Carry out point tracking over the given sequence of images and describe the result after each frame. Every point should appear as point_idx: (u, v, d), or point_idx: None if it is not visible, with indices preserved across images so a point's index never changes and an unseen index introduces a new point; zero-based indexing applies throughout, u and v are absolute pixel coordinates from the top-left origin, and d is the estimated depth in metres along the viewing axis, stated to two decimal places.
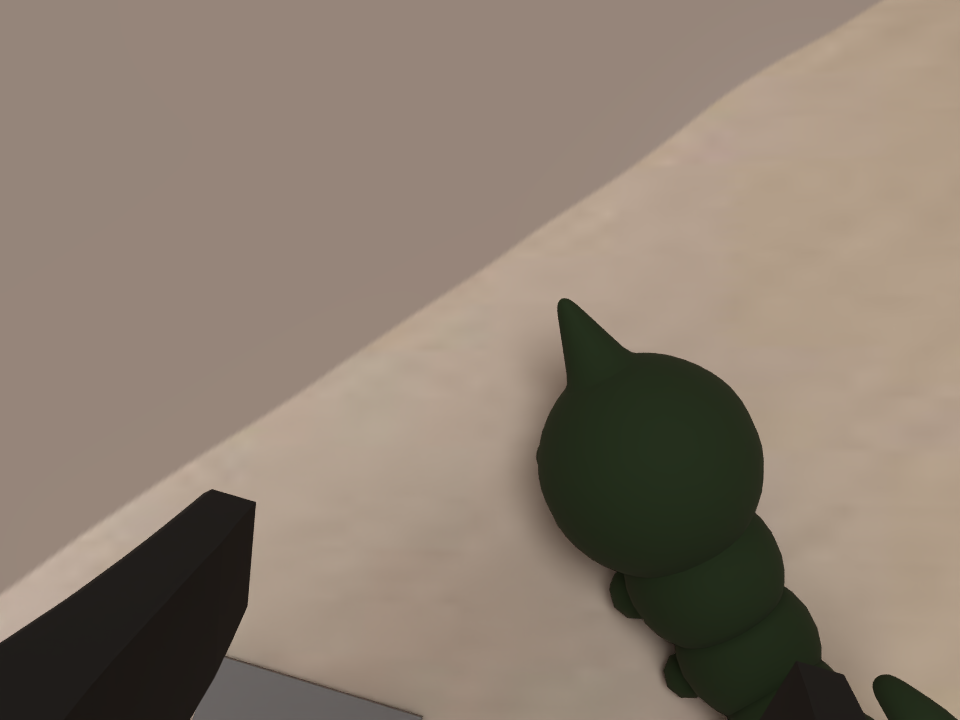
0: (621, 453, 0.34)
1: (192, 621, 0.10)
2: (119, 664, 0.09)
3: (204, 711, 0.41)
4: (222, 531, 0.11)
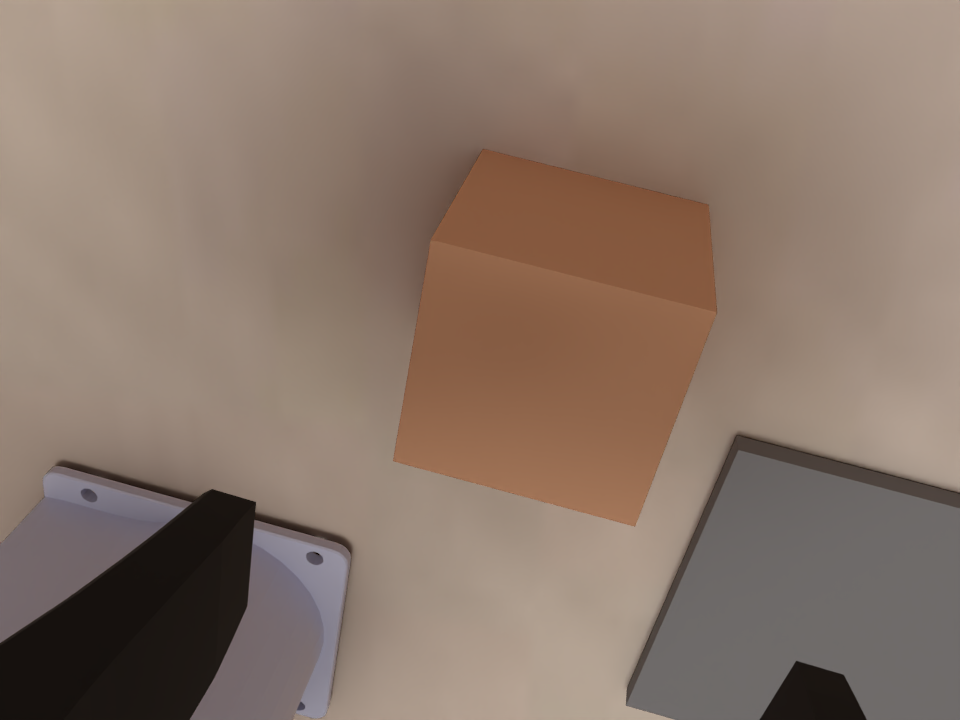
0: None
1: (192, 621, 0.10)
2: (119, 664, 0.09)
3: None
4: (222, 531, 0.11)
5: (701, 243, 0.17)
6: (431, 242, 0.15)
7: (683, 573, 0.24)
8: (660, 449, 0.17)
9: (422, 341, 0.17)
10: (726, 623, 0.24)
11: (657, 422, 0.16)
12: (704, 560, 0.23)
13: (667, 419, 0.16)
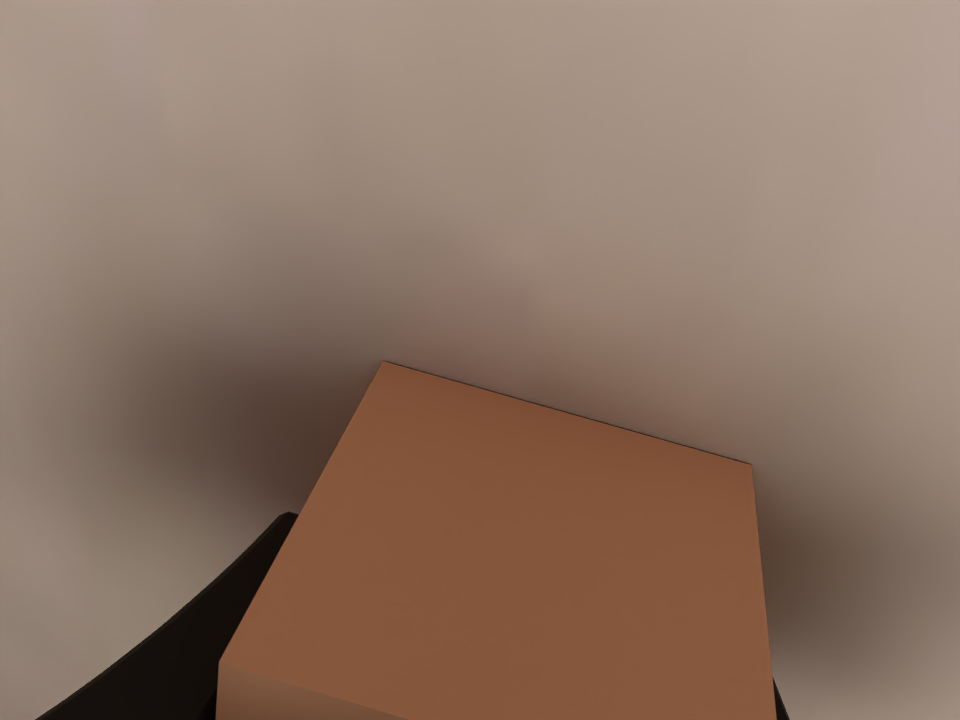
0: None
1: None
2: None
3: None
4: None
5: (745, 586, 0.10)
6: (221, 665, 0.08)
7: None
8: None
9: None
10: None
11: None
12: None
13: None
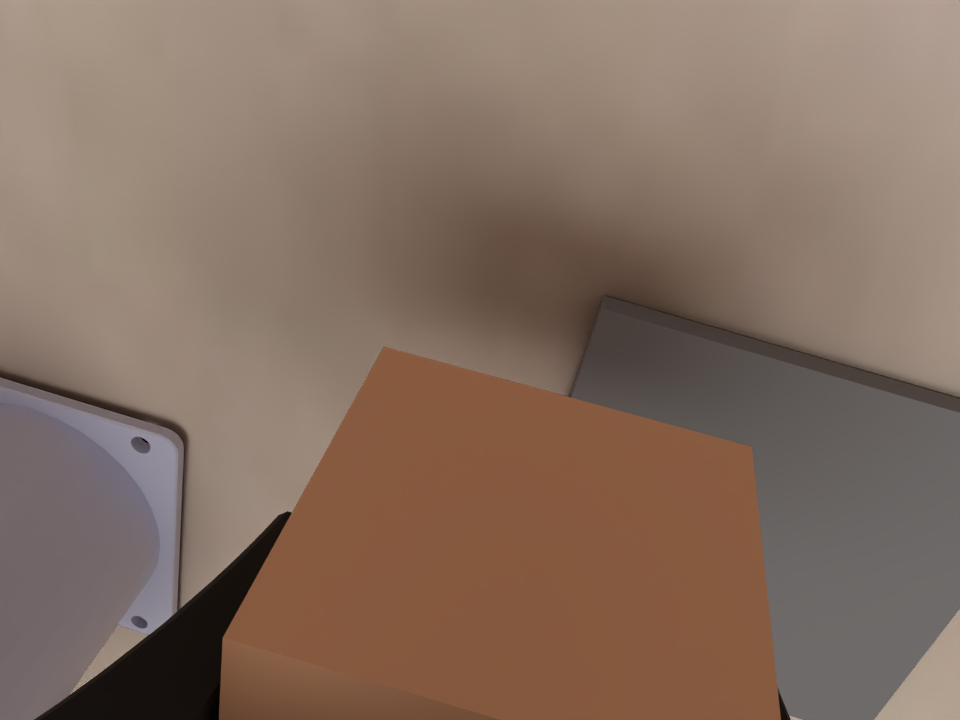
0: None
1: None
2: (217, 694, 0.09)
3: (953, 428, 0.18)
4: None
5: (746, 564, 0.10)
6: (225, 641, 0.08)
7: None
8: None
9: None
10: None
11: None
12: None
13: None
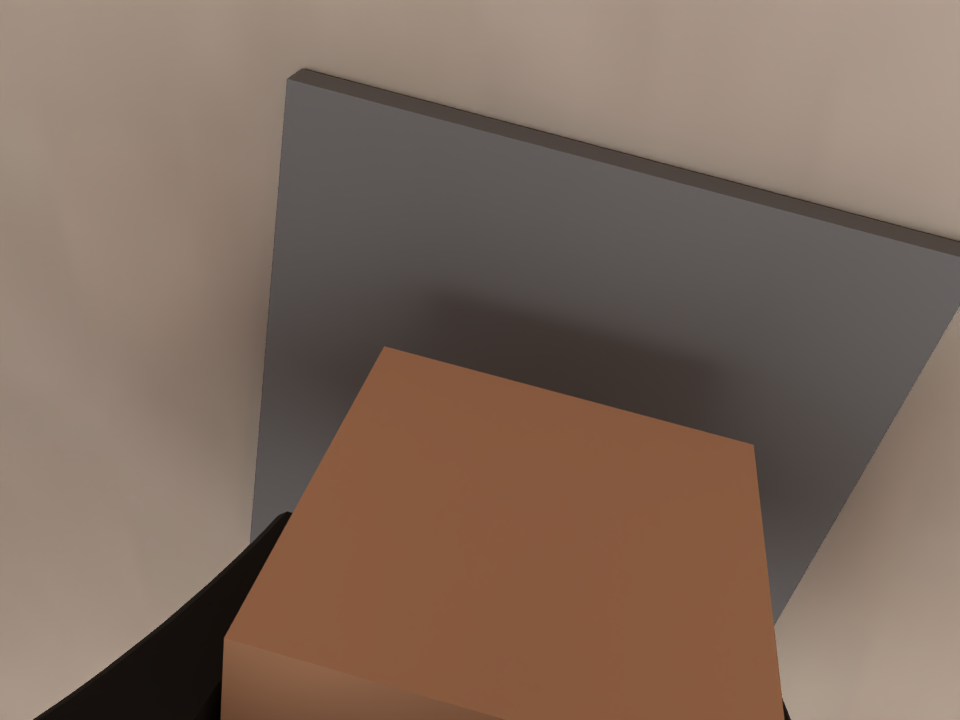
0: None
1: None
2: (217, 694, 0.09)
3: (796, 242, 0.13)
4: None
5: (748, 562, 0.10)
6: (226, 642, 0.08)
7: (268, 330, 0.15)
8: None
9: None
10: None
11: None
12: (289, 302, 0.15)
13: None
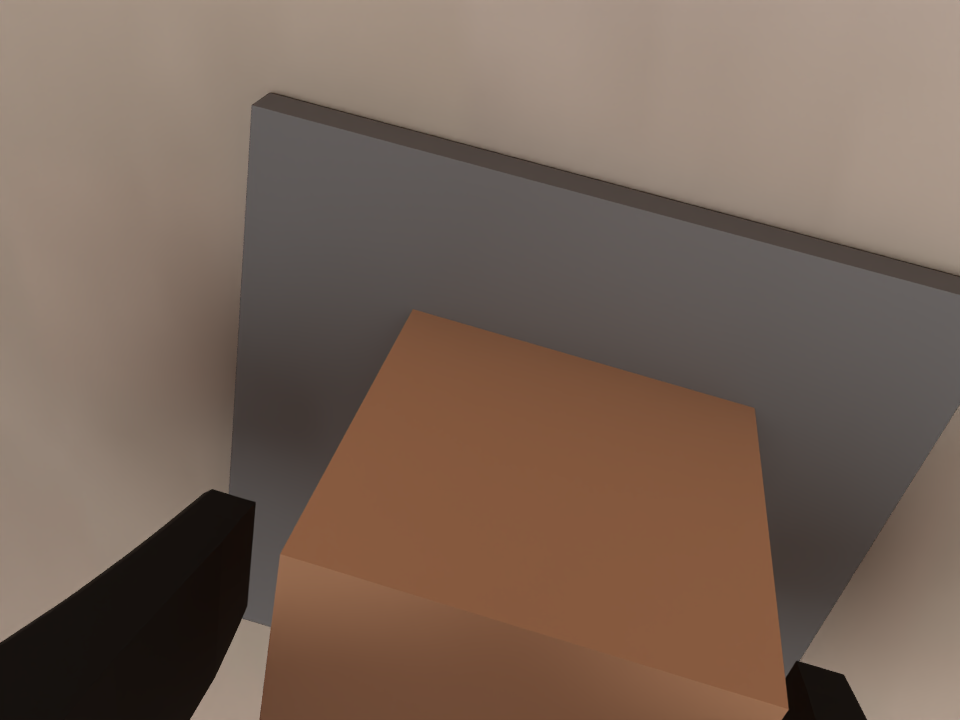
0: None
1: (192, 621, 0.10)
2: (119, 664, 0.09)
3: (811, 285, 0.11)
4: (222, 531, 0.11)
5: (749, 508, 0.11)
6: (282, 557, 0.09)
7: (237, 371, 0.14)
8: None
9: (278, 687, 0.10)
10: (325, 463, 0.15)
11: None
12: (260, 343, 0.14)
13: None
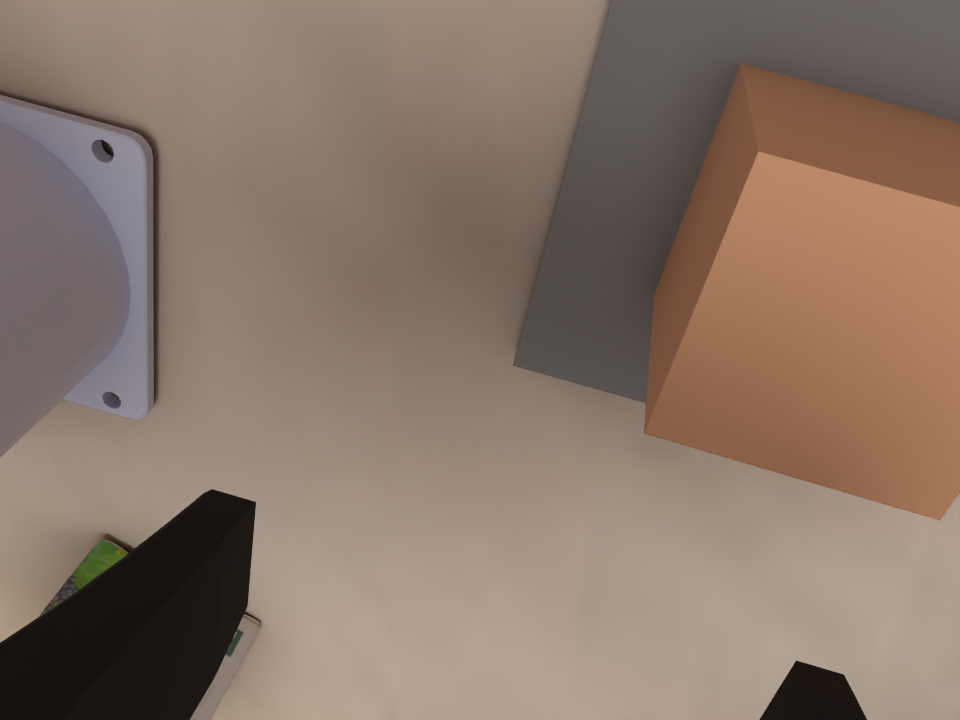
0: None
1: (192, 621, 0.10)
2: (119, 664, 0.09)
3: None
4: (222, 531, 0.11)
5: None
6: (758, 155, 0.12)
7: (576, 130, 0.18)
8: None
9: (716, 284, 0.13)
10: (636, 212, 0.18)
11: None
12: (603, 101, 0.17)
13: None
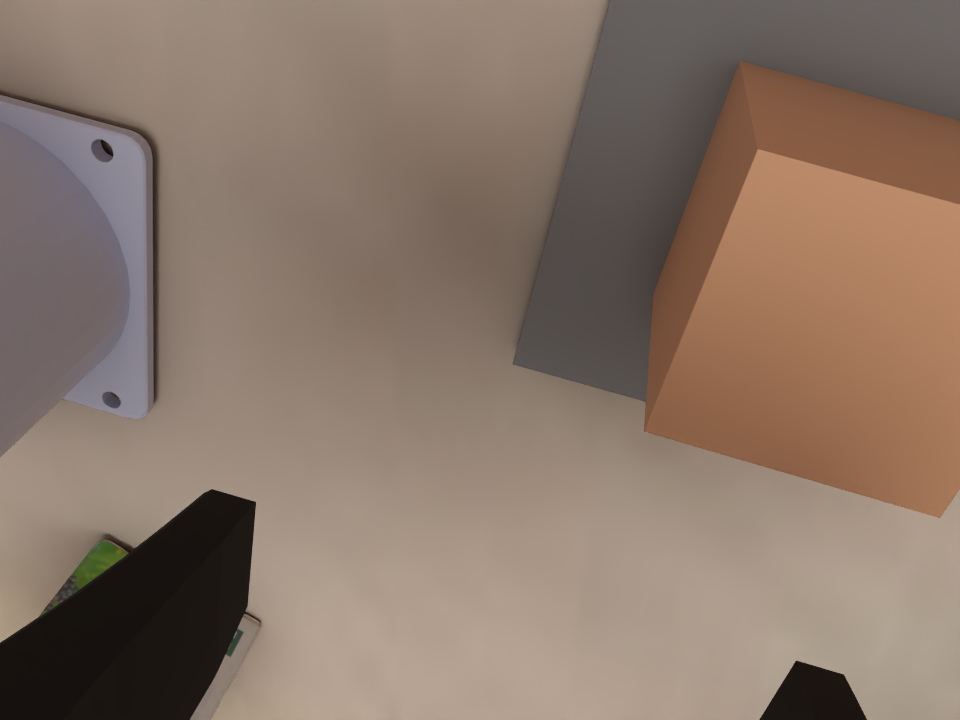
0: None
1: (192, 621, 0.10)
2: (119, 664, 0.09)
3: None
4: (222, 531, 0.11)
5: None
6: (757, 152, 0.12)
7: (576, 129, 0.18)
8: None
9: (715, 282, 0.13)
10: (635, 210, 0.18)
11: None
12: (602, 100, 0.17)
13: None
